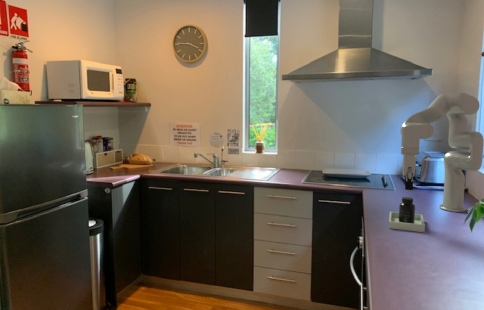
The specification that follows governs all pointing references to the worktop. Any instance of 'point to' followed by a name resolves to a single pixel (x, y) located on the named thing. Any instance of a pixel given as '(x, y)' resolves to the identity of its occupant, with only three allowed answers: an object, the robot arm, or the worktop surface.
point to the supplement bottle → (407, 210)
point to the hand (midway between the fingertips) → (408, 187)
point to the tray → (396, 224)
